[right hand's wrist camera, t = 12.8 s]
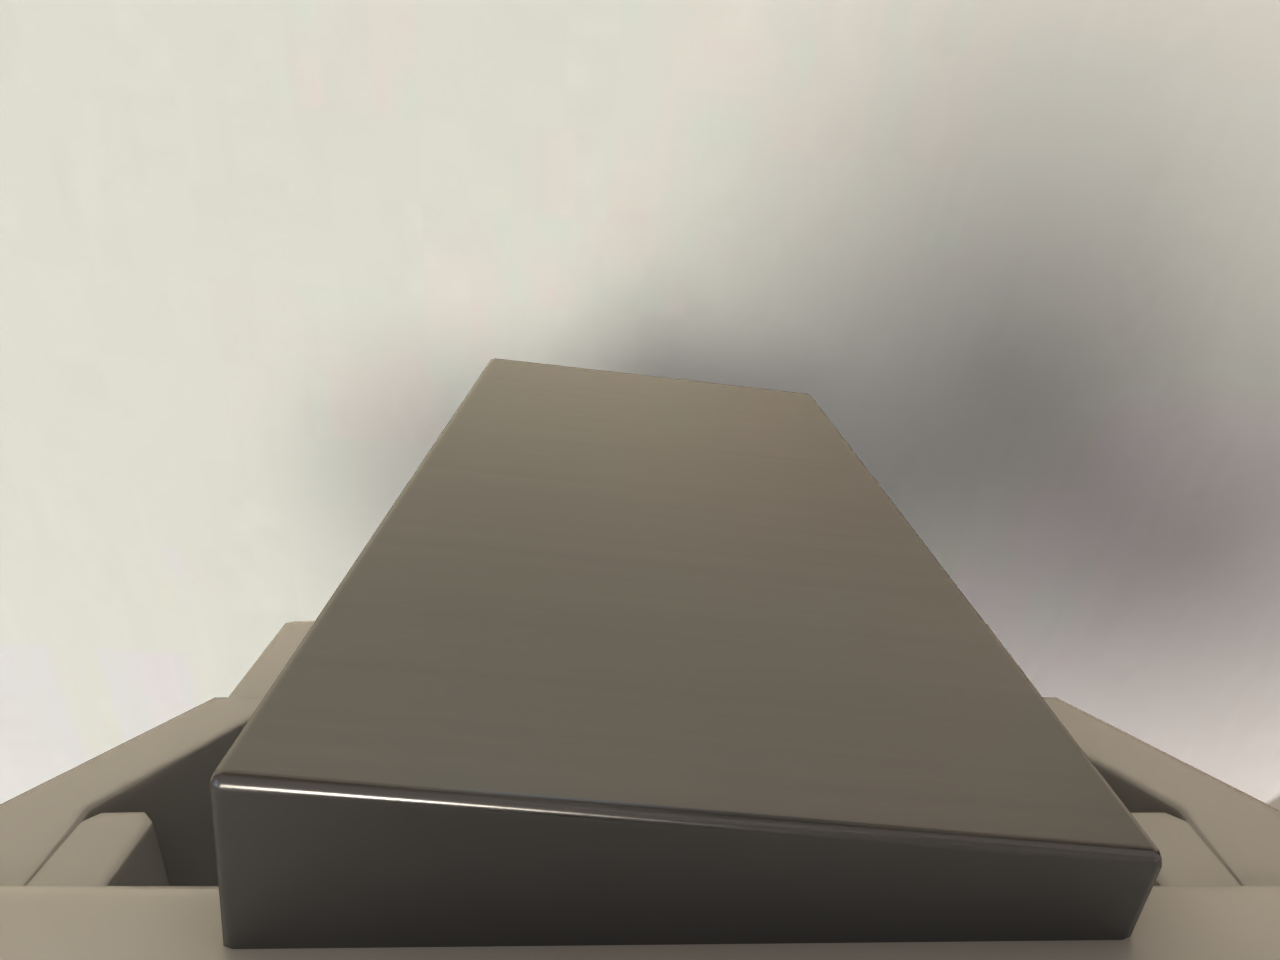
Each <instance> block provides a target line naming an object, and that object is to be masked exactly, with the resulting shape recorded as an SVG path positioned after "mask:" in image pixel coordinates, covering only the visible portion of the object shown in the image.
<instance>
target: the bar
mask: <svg viewBox="0 0 1280 960" xmlns="http://www.w3.org/2000/svg"><path fill="white" fill-rule="evenodd" d="M210 791H211V803H212V815H213V827H214V839H215V850H216V862H217V874H218V886H219V898H220V910H221V922H222V934H223V946H225V947H228V948H231V949H300V948H397V947H494V946H591V945H688V944H785V943H882V942H979V941H1076V940H1124V939H1126V938H1128V937H1130V936H1131V934H1132V932H1133V930H1134V927H1135V925H1136V923H1137V921H1138V919H1139V916H1140V914H1141V912H1142V910H1143V908H1144V905H1145V903H1146V901H1147V899H1148V896H1149V894H1150V892H1151V890H1152V888H1153V885H1154V883H1155V881H1156V879H1157V877H1158V874H1159V872H1160V870H1161V868H1162V858H1161V854H1160V851H1159V849H1158V848H1157V847H1156V845H1155V844H1154V843H1153V841H1152V840H1151V839H1150V837H1149V836H1148V835H1147V834H1146V832H1145V831H1144V830H1143V828H1142V827H1141V826H1140V824H1139V823H1138V822H1137V821H1136V819H1135V818H1134V817H1133V815H1132V814H1131V813H1130V811H1129V810H1128V809H1127V807H1126V806H1125V805H1124V804H1123V802H1122V801H1121V800H1120V798H1119V797H1118V796H1117V794H1116V793H1115V792H1114V791H1113V789H1112V788H1111V787H1110V785H1109V784H1108V783H1107V781H1106V780H1105V779H1104V777H1103V776H1102V775H1101V774H1100V772H1099V771H1098V770H1097V768H1096V767H1095V766H1094V764H1093V763H1092V762H1091V761H1090V759H1089V758H1088V757H1087V755H1086V754H1085V753H1084V751H1083V750H1082V749H1081V747H1080V746H1079V745H1078V744H1077V742H1076V741H1075V740H1074V738H1073V737H1072V736H1071V734H1070V733H1069V732H1068V730H1067V729H1066V728H1065V727H1064V725H1063V724H1062V723H1061V721H1060V720H1059V719H1058V717H1057V716H1056V715H1055V714H1054V712H1053V711H1052V710H1051V708H1050V707H1049V706H1048V704H1047V703H1046V702H1045V700H1044V699H1043V698H1042V697H1041V695H1040V694H1039V693H1038V691H1037V690H1036V689H1035V687H1034V686H1033V685H1032V684H1031V682H1030V681H1029V680H1028V678H1027V677H1026V676H1025V674H1024V673H1023V672H1022V670H1021V669H1020V668H1019V667H1018V665H1017V664H1016V663H1015V661H1014V660H1013V659H1012V657H1011V656H1010V655H1009V654H1008V652H1007V651H1006V650H1005V648H1004V647H1003V646H1002V644H1001V643H1000V642H999V640H998V639H997V638H996V637H995V635H994V634H993V633H992V631H991V630H990V629H989V627H988V626H987V625H986V624H985V622H984V621H983V620H982V618H981V617H980V616H979V614H978V613H977V612H976V610H975V609H974V608H973V607H972V605H971V604H970V603H969V601H968V600H967V599H966V597H965V596H964V595H963V593H962V592H961V591H960V590H959V588H958V587H957V586H956V584H955V583H954V582H953V580H952V579H951V578H950V577H949V575H948V574H947V573H946V571H945V570H944V569H943V567H942V566H941V565H940V563H939V562H938V561H937V560H936V558H935V557H934V556H933V554H932V553H931V552H930V550H929V549H928V548H927V547H926V545H925V544H924V543H923V541H922V540H921V539H920V537H919V536H918V535H917V533H916V532H915V531H914V530H913V528H912V527H911V526H910V524H909V523H908V522H907V520H906V519H905V518H904V517H903V515H902V514H901V513H900V511H899V510H898V509H897V507H896V506H895V505H894V503H893V502H892V501H891V500H890V498H889V497H888V496H887V494H886V493H885V492H884V490H883V489H882V488H881V486H880V485H879V484H878V483H877V481H876V480H875V479H874V477H873V476H872V475H871V473H870V472H869V471H868V470H867V468H866V467H865V466H864V464H863V463H862V462H861V460H860V459H859V458H858V456H857V455H856V454H855V453H854V451H853V450H852V449H851V447H850V446H849V445H848V443H847V442H846V441H845V440H844V438H843V437H842V436H841V434H840V433H839V432H838V430H837V429H836V428H835V426H834V425H833V424H832V423H831V421H830V420H829V419H828V417H827V416H826V415H825V413H824V412H823V411H822V410H821V408H820V407H819V406H818V404H817V403H816V402H815V400H814V399H813V398H812V396H810V395H809V394H804V393H795V392H786V391H777V390H769V389H760V388H751V387H742V386H733V385H725V384H716V383H707V382H698V381H689V380H681V379H672V378H663V377H654V376H645V375H637V374H628V373H619V372H610V371H601V370H593V369H584V368H575V367H566V366H557V365H548V364H540V363H531V362H522V361H513V360H504V359H496V358H495V359H491V361H490V362H489V364H488V365H487V366H486V368H485V369H484V371H483V372H482V374H481V375H480V377H479V378H478V380H477V381H476V383H475V384H474V386H473V387H472V389H471V390H470V392H469V393H468V395H467V396H466V398H465V399H464V401H463V402H462V404H461V405H460V407H459V408H458V410H457V411H456V413H455V414H454V416H453V417H452V419H451V420H450V422H449V423H448V424H447V426H446V427H445V429H444V430H443V432H442V433H441V435H440V436H439V438H438V439H437V441H436V442H435V444H434V445H433V447H432V448H431V450H430V451H429V453H428V454H427V456H426V457H425V459H424V460H423V462H422V463H421V465H420V466H419V468H418V469H417V471H416V472H415V474H414V475H413V477H412V478H411V480H410V481H409V482H408V484H407V485H406V487H405V488H404V490H403V491H402V493H401V494H400V496H399V497H398V499H397V500H396V502H395V503H394V505H393V506H392V508H391V509H390V511H389V512H388V514H387V515H386V517H385V518H384V520H383V521H382V523H381V524H380V526H379V527H378V529H377V530H376V532H375V533H374V535H373V536H372V537H371V539H370V540H369V542H368V543H367V545H366V546H365V548H364V549H363V551H362V552H361V554H360V555H359V557H358V558H357V560H356V561H355V563H354V564H353V566H352V567H351V569H350V570H349V572H348V573H347V575H346V576H345V578H344V579H343V581H342V582H341V584H340V585H339V587H338V588H337V590H336V591H335V593H334V594H333V595H332V597H331V598H330V600H329V601H328V603H327V604H326V606H325V607H324V609H323V610H322V612H321V613H320V615H319V616H318V618H317V619H316V621H315V622H314V624H313V625H312V627H311V628H310V630H309V631H308V633H307V634H306V636H305V637H304V639H303V640H302V642H301V643H300V645H299V646H298V648H297V649H296V651H295V652H294V653H293V655H292V656H291V658H290V659H289V661H288V662H287V664H286V665H285V667H284V668H283V670H282V671H281V673H280V674H279V676H278V677H277V679H276V680H275V682H274V683H273V685H272V686H271V688H270V689H269V691H268V692H267V694H266V695H265V697H264V698H263V700H262V701H261V703H260V704H259V706H258V707H257V708H256V710H255V711H254V713H253V714H252V716H251V717H250V719H249V720H248V722H247V723H246V725H245V726H244V728H243V729H242V731H241V732H240V734H239V735H238V737H237V738H236V740H235V741H234V743H233V744H232V746H231V747H230V749H229V750H228V752H227V753H226V755H225V756H224V758H223V759H222V761H221V762H220V764H219V765H218V766H217V768H216V769H215V771H214V773H213V776H212V778H211V784H210Z"/></svg>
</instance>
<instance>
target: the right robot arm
mask: <svg viewBox="0 0 1280 960" xmlns="http://www.w3.org/2000/svg"><path fill="white" fill-rule="evenodd" d="M314 622H315V621H294V622H289V623H286V624H285V625H284V626H283V627H282V628H281V630H280V631H279V632H278V634H277V635H276V636H275V637H274V639H273V640H272V641H271V643H270V644H269V645H268V647H267V648H266V649H265V650H264V652H263V653H262V654H261V656H260V657H259V658H258V660H257V661H256V662H255V663H254V665H253V666H252V667H251V669H250V670H249V671H248V672H247V674H246V675H245V676H244V678H243V679H242V680H241V682H240V683H239V684H238V685H237V687H236V688H235V689H234V691H233V692H232V693H231V695H230V696H229V697H228V698H213V699H211V700H209V701H207V702H205V703H203V704H201V705H199V706H197V707H195V708H193V709H191V710H189V711H187V712H185V713H183V714H181V715H179V716H177V717H175V718H173V719H171V720H169V721H167V722H165V723H163V724H161V725H159V726H157V727H155V728H153V729H151V730H149V731H147V732H145V733H143V734H141V735H139V736H137V737H135V738H133V739H131V740H129V741H127V742H125V743H123V744H121V745H119V746H117V747H115V748H113V749H111V750H109V751H107V752H105V753H103V754H101V755H99V756H97V757H95V758H93V759H91V760H89V761H87V762H85V763H83V764H81V765H79V766H77V767H75V768H73V769H71V770H69V771H67V772H65V773H63V774H61V775H59V776H57V777H55V778H53V779H51V780H49V781H47V782H45V783H43V784H41V785H39V786H37V787H35V788H33V789H31V790H29V791H27V792H25V793H23V794H21V795H19V796H17V797H15V798H13V799H11V800H9V801H7V802H5V803H3V804H1V805H0V960H1280V811H1279V810H1277V809H1275V808H1273V807H1271V806H1270V805H1268V804H1266V803H1264V802H1262V801H1260V800H1258V799H1256V798H1254V797H1252V796H1250V795H1248V794H1246V793H1244V792H1242V791H1240V790H1238V789H1236V788H1234V787H1232V786H1230V785H1228V784H1226V783H1224V782H1222V781H1220V780H1218V779H1216V778H1214V777H1212V776H1210V775H1208V774H1206V773H1204V772H1202V771H1200V770H1198V769H1196V768H1194V767H1192V766H1190V765H1188V764H1186V763H1184V762H1182V761H1180V760H1178V759H1176V758H1174V757H1172V756H1170V755H1169V754H1167V753H1165V752H1163V751H1161V750H1159V749H1157V748H1155V747H1153V746H1151V745H1149V744H1147V743H1145V742H1143V741H1141V740H1139V739H1137V738H1135V737H1133V736H1131V735H1129V734H1127V733H1125V732H1123V731H1121V730H1119V729H1117V728H1115V727H1113V726H1111V725H1109V724H1107V723H1105V722H1103V721H1101V720H1099V719H1097V718H1095V717H1093V716H1091V715H1089V714H1087V713H1085V712H1083V711H1081V710H1079V709H1077V708H1075V707H1073V706H1071V705H1069V704H1068V703H1066V702H1064V701H1062V700H1060V699H1058V698H1043V697H1042V696H1041V697H1042V698H1043V699H1044V700H1045V702H1046V703H1047V704H1048V706H1049V707H1050V708H1051V710H1052V711H1053V712H1054V714H1055V715H1056V716H1057V717H1058V719H1059V720H1060V721H1061V723H1062V724H1063V725H1064V727H1065V728H1066V729H1067V730H1068V732H1069V733H1070V734H1071V736H1072V737H1073V738H1074V740H1075V741H1076V742H1077V744H1078V745H1079V746H1080V747H1081V749H1082V750H1083V751H1084V753H1085V754H1086V755H1087V757H1088V758H1089V759H1090V761H1091V762H1092V763H1093V764H1094V766H1095V767H1096V768H1097V770H1098V771H1099V772H1100V774H1101V775H1102V776H1103V777H1104V779H1105V780H1106V781H1107V783H1108V784H1109V785H1110V787H1111V788H1112V789H1113V791H1114V792H1115V793H1116V794H1117V796H1118V797H1119V798H1120V800H1121V801H1122V802H1123V804H1124V805H1125V806H1126V807H1127V809H1128V810H1129V811H1130V813H1131V814H1132V815H1133V817H1134V818H1135V819H1136V821H1137V822H1138V823H1139V824H1140V826H1141V827H1142V828H1143V830H1144V831H1145V832H1146V834H1147V835H1148V836H1149V837H1150V839H1151V840H1152V841H1153V843H1154V844H1155V845H1156V847H1157V848H1158V849H1159V851H1160V854H1161V858H1162V868H1161V870H1160V872H1159V874H1158V877H1157V879H1156V881H1155V883H1154V885H1153V888H1152V890H1151V892H1150V894H1149V896H1148V899H1147V901H1146V903H1145V905H1144V908H1143V910H1142V912H1141V914H1140V916H1139V919H1138V921H1137V923H1136V925H1135V927H1134V930H1133V932H1132V934H1131V936H1130V937H1128V938H1126V939H1124V940H1076V941H979V942H882V943H785V944H688V945H591V946H494V947H397V948H300V949H231V948H228V947H225V946H223V934H222V922H221V910H220V898H219V886H218V874H217V862H216V850H215V839H214V827H213V815H212V803H211V791H210V784H211V778H212V776H213V773H214V771H215V769H216V768H217V766H218V765H219V764H220V762H221V761H222V759H223V758H224V756H225V755H226V753H227V752H228V750H229V749H230V747H231V746H232V744H233V743H234V741H235V740H236V738H237V737H238V735H239V734H240V732H241V731H242V729H243V728H244V726H245V725H246V723H247V722H248V720H249V719H250V717H251V716H252V714H253V713H254V711H255V710H256V708H257V707H258V706H259V704H260V703H261V701H262V700H263V698H264V697H265V695H266V694H267V692H268V691H269V689H270V688H271V686H272V685H273V683H274V682H275V680H276V679H277V677H278V676H279V674H280V673H281V671H282V670H283V668H284V667H285V665H286V664H287V662H288V661H289V659H290V658H291V656H292V655H293V653H294V652H295V651H296V649H297V648H298V646H299V645H300V643H301V642H302V640H303V639H304V637H305V636H306V634H307V633H308V631H309V630H310V628H311V627H312V625H313V624H314ZM985 624H986V623H985ZM986 625H987V624H986ZM987 626H988V625H987ZM988 627H989V626H988ZM989 629H990V627H989ZM990 630H991V629H990ZM991 631H992V630H991ZM992 633H993V631H992ZM993 634H994V633H993ZM994 635H995V634H994ZM995 637H996V635H995ZM996 638H997V637H996ZM997 639H998V638H997ZM998 640H999V639H998ZM999 642H1000V641H999ZM1000 643H1001V642H1000ZM1001 644H1002V643H1001ZM1002 646H1003V645H1002ZM1003 647H1004V646H1003ZM1004 648H1005V647H1004ZM1005 650H1006V649H1005ZM1006 651H1007V650H1006ZM1007 652H1008V651H1007ZM1008 654H1009V653H1008ZM1009 655H1010V654H1009ZM1010 656H1011V655H1010ZM1011 657H1012V656H1011ZM1012 659H1013V658H1012ZM1013 660H1014V659H1013ZM1014 661H1015V660H1014ZM1015 663H1016V662H1015ZM1016 664H1017V663H1016ZM1017 665H1018V664H1017ZM1018 667H1019V666H1018ZM1019 668H1020V667H1019ZM1020 669H1021V668H1020ZM1022 672H1023V671H1022ZM1023 673H1024V672H1023ZM1025 676H1026V675H1025ZM1026 677H1027V676H1026ZM1028 680H1029V679H1028ZM1029 681H1030V680H1029ZM1031 684H1032V683H1031ZM1032 685H1033V684H1032ZM1033 686H1034V685H1033ZM1035 689H1036V688H1035ZM1036 690H1037V689H1036ZM1038 693H1039V692H1038ZM1039 694H1040V693H1039Z"/></svg>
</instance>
